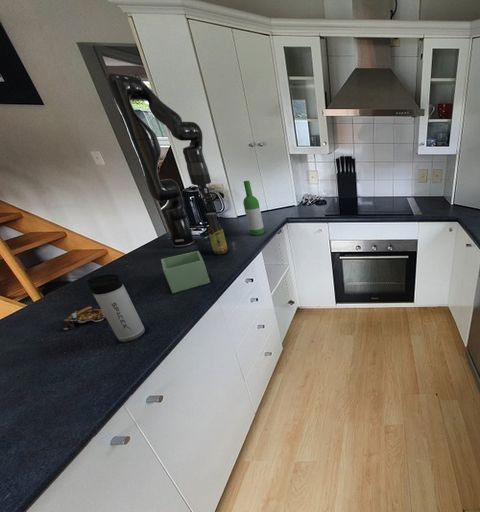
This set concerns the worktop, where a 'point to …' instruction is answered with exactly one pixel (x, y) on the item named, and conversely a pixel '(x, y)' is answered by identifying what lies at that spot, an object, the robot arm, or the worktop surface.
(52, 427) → the worktop surface
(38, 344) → the worktop surface
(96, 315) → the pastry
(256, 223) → the wine bottle
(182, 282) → the caddy
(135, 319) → the travel mug
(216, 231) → the sauce bottle
